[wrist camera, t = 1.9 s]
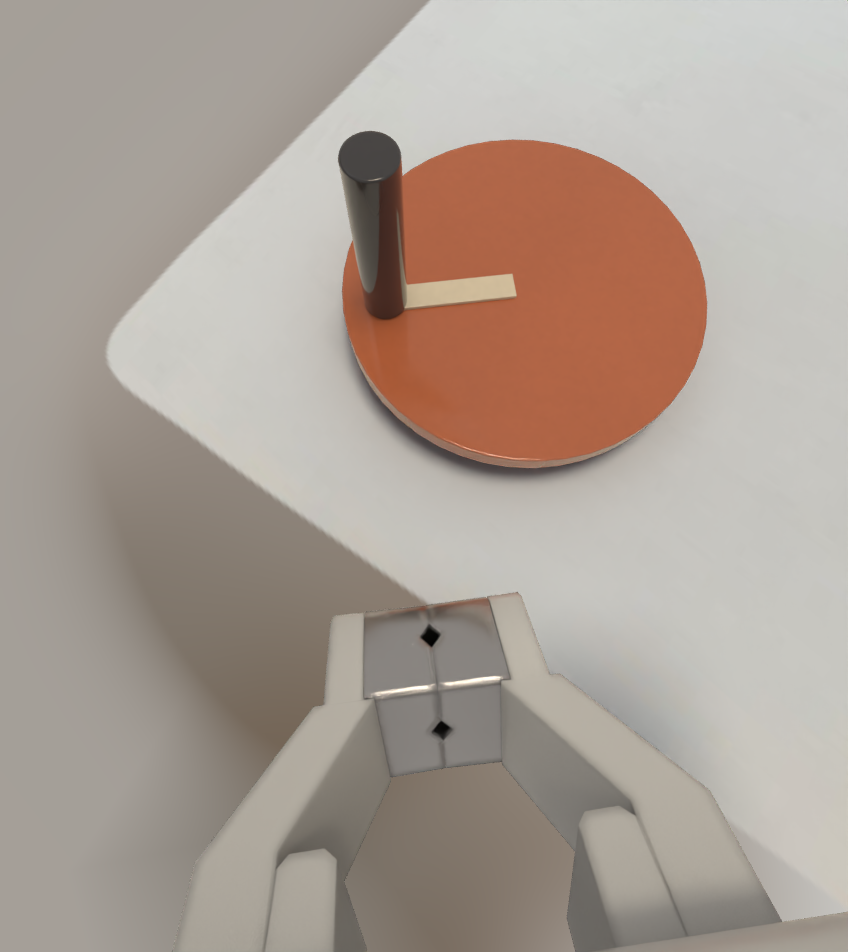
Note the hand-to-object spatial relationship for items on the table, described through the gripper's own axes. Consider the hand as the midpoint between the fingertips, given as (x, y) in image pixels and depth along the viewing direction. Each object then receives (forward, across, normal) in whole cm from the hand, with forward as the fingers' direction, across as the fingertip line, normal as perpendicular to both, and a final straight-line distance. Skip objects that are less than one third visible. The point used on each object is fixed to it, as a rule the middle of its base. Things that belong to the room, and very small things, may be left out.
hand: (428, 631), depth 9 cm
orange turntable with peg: (+20, -7, 0) cm, 21 cm away
